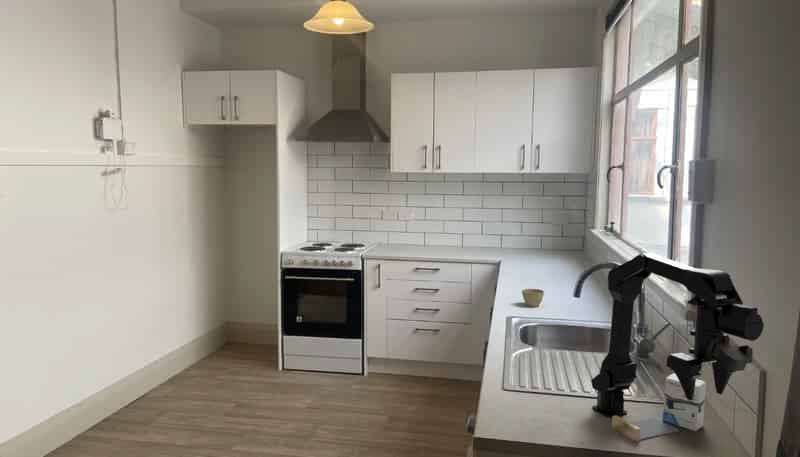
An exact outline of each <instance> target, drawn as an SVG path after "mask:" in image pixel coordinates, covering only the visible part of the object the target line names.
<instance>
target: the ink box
mask: <svg viewBox="0 0 800 457" xmlns="http://www.w3.org/2000/svg"><path fill="white" fill-rule="evenodd" d="M664 383H665V384H664V397H663V409H662V411H663V413H662V422H664V423H667V424H672V425H676V426H678V427H682V428H684V429H687V430H691V431H695V432H697V431H698V430H700V429H701V428H702V427H703V426H704V417H705V416H704V415H705V400H706V390H707V388H706V387H707V382H705V380H701V379H698V378H697V379H696V382H695V389H694V396H693V400H691V401H690V400H688V399H687V397H686V395H685V393H684V390H683V388H682V386H681V384H680V381H679V379H678V378H677V376H676V374H675V372H674V373H671V374H670V375H667V376H666V377H665V380H664Z"/></svg>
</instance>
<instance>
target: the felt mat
mask: <svg viewBox="0 0 800 457" xmlns="http://www.w3.org/2000/svg"><path fill="white" fill-rule="evenodd" d="M629 422H630V421H629ZM630 423H631V424H633V425H635V426H637V427H639V428H641V431H640V441H643V440H649V439H652V438H656V437H661V436H664V435H670V434H673V433H677V432H680V429H678V428H676V427H674V426H672V425H670V424H669V423H667V422H665V421H663V420H660V419H659V418H656V417H650V418H646V419H640V420H636V421H632V422H630Z"/></svg>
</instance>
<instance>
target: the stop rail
mask: <svg viewBox="0 0 800 457" xmlns="http://www.w3.org/2000/svg"><path fill="white" fill-rule="evenodd" d="M611 418H612V422H611V428H612V429H614V430H615V431H617V432H619V433H621V434H622V435H624V436H625V437H628V438H630V439H631V440H633V441H635V442H639V441H641V440H640V431H641V428H639V427H637V426H635V425H633V424H631V423H630V421H628V420H625V419H624V418H622V417H620V416H619V415H616V416H612V417H611Z"/></svg>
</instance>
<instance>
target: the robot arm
mask: <svg viewBox="0 0 800 457" xmlns="http://www.w3.org/2000/svg"><path fill="white" fill-rule="evenodd" d="M652 274H653V275H656V276H659V277H661V278H665V279H667V280H670V281H672V282H675V283H678V284H681V285H682V286H684V287H685V288H686V290H687V291H688V292H689V293H691V294H692V295H694V296H693V297H691V299H689V300H688V301H687V303H688V305H692V306H695V308H696V309H695V320H694V323H695V324H694V329H691V330H690V331H689V335H690V336H693V347H689V348H688V353H689V354H691V355H688V354H686V353H684V352H677V353H671V354H669V355H668V356H667V357H666V362H665V363H666V364H665V366H666V367H667V368H670V371H673V372H674V373H675V374H676V376H677V378H678V379H679V381H680V384H681V386H682V388H683V390H684V393H685V395H686V397H687V399H688V400H690V401H691V400H693V396H694V389H695V382H696V379H698V378H699V377H701V376H702V375H703V374H702V373H700V371H701V370H702V368H703V366H702V365H707V364H711V366H712V372H713V380H714V386H715V387H714V388H715V390H716V394H719V395H722V394H724V391H725V389H726V386H727V385H728V383H729V380H730V378H731V377H732V375H733V373H736V372H739V371H741V372H743V371H745V369H746V367H747V365H748V364H752V363H753V348H752V347H751V346H750V345H748V344H743V345H740V346H738V345H733V344H731V343H730V336H733V337H737V338H740V339H743V340H747V341H751V342H754V341H756V340H758V339H760V337H761V335H762V333H763V331H764V326H765V325H764V322H763V318H762V316H761V315H760V314H759V313H758V310H759V309H758V308H757V307H755V306H751V305H749V306H747V305H744V303H743V302H744V301H743V300H742V298H741V295H739V293H738V291H737V289H736V287H735V286H734V284H733V281H732V278H731V275H730V274H729V273H728V272H726V271H725V270H720V269H708V268H696V267H692V266H690V265H686V264H684V263H681V262H678V261H675V260H673V259H669V258H666V257H663V256H660V255H658V254H657V253H654V252H647V253H645V252H644V253H639V254H637V255H636V256H634V257H633V258H632V259H629V260H628V261H626V262H623V263H621V264H620V265H618V266H614V267H613V268H611V269H609V271H608V274H607V288H608V292H609V294H610V295H611V297H612V299H613V300H612V314H611V324H610V334H609V336H610V337H609V350H608V353H607V354H606V356H605V357H604V359H603V360H602V362H601V366H600V370H599V373H598V374H597V375H595V376H594V377H593V378H592V379H591V386H592V387H591V388H592V389H594V390H596V391H597V397H596V398H597V399H596V400H597V401H596V402H597V403H596V405H593V406H592V407H591V409H593V410H595V411H597V412H599V413H600V414H602V415H604V416H606V417H607V418H608V417H609V418H612V417H613V416H616V415H617V416H621V415H626V414H628V411H627V410H625V407H624V406H625V405H624V404H625V398H624V395H625V394H624V393H625V392H624V391H627V390H630V388H631V385H632V384H634V381H635V379H637V368H638V364H637V363H636V362H633V360H632V358H631V356H630V346H631V339H632V338H631V337H632V335H631V334H632V325H633V315H634V304H635V300H636V299H637V298H638V297H639V295H640V293H641V292H642V288H643V284H644V281H645V280H646V279H648V278H649V277H650V276H651V275H652ZM692 355H693V356H692Z"/></svg>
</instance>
